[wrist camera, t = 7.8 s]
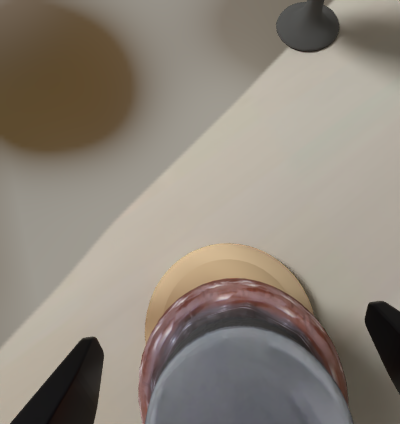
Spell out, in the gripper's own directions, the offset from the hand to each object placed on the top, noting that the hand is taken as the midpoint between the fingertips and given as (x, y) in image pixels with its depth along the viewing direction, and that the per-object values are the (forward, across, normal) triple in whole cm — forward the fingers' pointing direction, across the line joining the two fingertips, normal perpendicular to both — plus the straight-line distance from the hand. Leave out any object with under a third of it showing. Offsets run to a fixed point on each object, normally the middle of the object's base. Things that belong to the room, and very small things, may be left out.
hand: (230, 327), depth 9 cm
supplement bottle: (+4, 0, +6) cm, 8 cm away
